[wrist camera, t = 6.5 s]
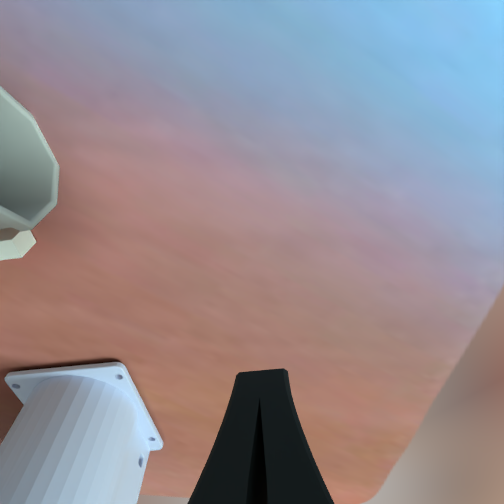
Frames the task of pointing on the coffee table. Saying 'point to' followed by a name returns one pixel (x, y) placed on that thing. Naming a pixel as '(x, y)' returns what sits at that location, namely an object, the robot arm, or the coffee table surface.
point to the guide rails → (15, 243)
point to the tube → (24, 168)
